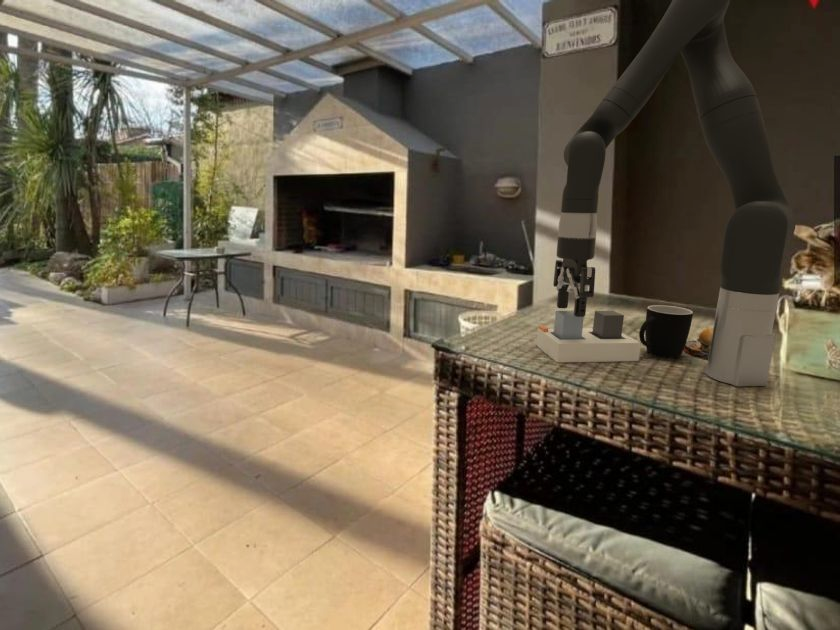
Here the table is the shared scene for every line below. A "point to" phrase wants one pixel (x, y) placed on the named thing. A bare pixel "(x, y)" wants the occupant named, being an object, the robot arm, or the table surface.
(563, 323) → the plug
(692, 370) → the table surface
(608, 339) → the white socket base
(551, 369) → the table surface
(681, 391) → the table surface
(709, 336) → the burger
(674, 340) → the mug
